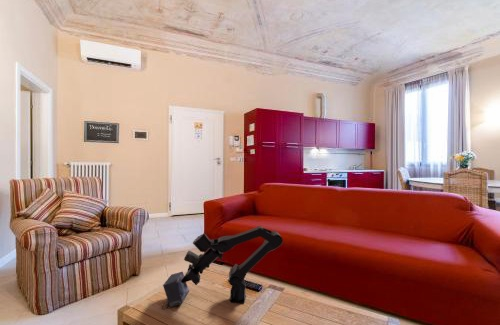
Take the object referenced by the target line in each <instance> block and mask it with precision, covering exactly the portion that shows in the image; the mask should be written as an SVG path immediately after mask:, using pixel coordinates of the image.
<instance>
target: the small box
mask: <svg viewBox="0 0 500 325" xmlns="http://www.w3.org/2000/svg"><path fill="white" fill-rule="evenodd" d="M184 276H185V274H184V272H183V271H180V272H179V271H178V272H175V273H173V274H170V276H169V277H168V278H167V279H166V281H165V282H164V283H163V284H162V287H163V290H164V292H165V296H166V300H167V299H168V303H169V305H168V307H169V308H171V307H174V306H179V305H182V304H183V302H184V301H185V300H186V297H188V295H189V293H190V289H189V287H188V284H187V283H188V282H184V283H182V282H181V280H182V279H183V277H184Z"/></svg>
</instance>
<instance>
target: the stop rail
mask: <svg viewBox="0 0 500 325" xmlns="http://www.w3.org/2000/svg"><path fill="white" fill-rule="evenodd" d="M168 307H169V303H168V299H167V298H166V300H165V301H164V302H163V303H162V304H161V309H162V310H166V309H167V308H168Z"/></svg>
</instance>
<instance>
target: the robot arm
mask: <svg viewBox="0 0 500 325" xmlns="http://www.w3.org/2000/svg"><path fill="white" fill-rule="evenodd" d="M257 238H262V239H264V241H263V243H262V244H261V245H260V246H259V247H258V248H257V249H256V250H255V251H254V252H253V253H252V254H250V255H249V257H248V258H246V259H245V260H244V261H243V262H242V263H241V264H239V265H238V264H237V263H235V264H234V265H233V267H231V268H229V272H228V283H229V285H230V286H231V288H230V295H229V296H230V297H229V298H230V302H231V303H237V304H245V302H246V299H247V295H246V293H247V292H246V291H247V290H246V288H247V285H246V281H245V279H246V278H245V277H246V276H247V274H248V273H249V272H250V270H252V269H253V268H254V267H255V266H256V265H257V264H258V263H259V262H260V261H261V260H262V259H263V258H264V257H265V256H266V255H267V254H268V253H269V252H271V251H274V250H277V248H279V247H280V246H282V245H283V242H284V241H283V240H284V239H283V237H282V235H280V233H279V232H278V231H276V230H270V229H268V228H265V227H262V225H258V226H256V227H254V228H251V229H248V230H246V231H243V232H239V233H236V234H233V235H224V236H220V237H218V238H213V239H210V237H208V236H207V234H206V233H205V232H204V233H202V234H200V235H198V236H197V237H196V238H195V239H194V240H193V241H192V244H193V245H194V246H195V247H196V249H198V251H199V252H202V253H200V254H197V253H195V252H193V251H191V250H188V251H187V252H186V254H185V256H184V259H183V260H184V261H185V262H187V263H189V265H188V268H187V271H186V273H185V274H184V277H183V279H182V280H181V282H182V283H184V282H186V283H188V282H189V281H191V282H192V283H193V284H194V285H196V286H197V285H198V284H199V283H200V281H201V275H202V274H203V273H204V270H206V269H209V268H210V265H211V264H212V263H214V261H216V260H217V259H219V260H220V261H222V260H223V255H224V253H226V252H228V251H230V250H232V249H234V247H235V246H237V245H240V244H242V243H245V242H249V241H251V240H253V239H257Z"/></svg>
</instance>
